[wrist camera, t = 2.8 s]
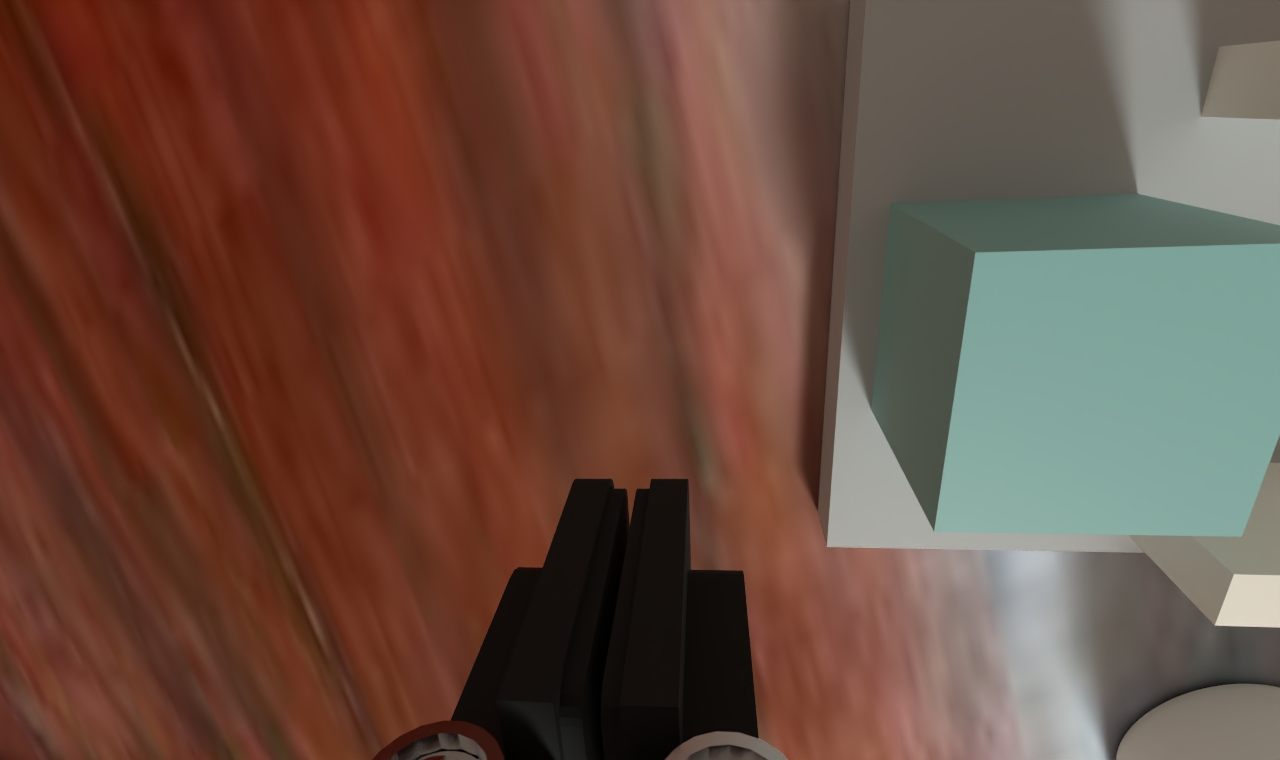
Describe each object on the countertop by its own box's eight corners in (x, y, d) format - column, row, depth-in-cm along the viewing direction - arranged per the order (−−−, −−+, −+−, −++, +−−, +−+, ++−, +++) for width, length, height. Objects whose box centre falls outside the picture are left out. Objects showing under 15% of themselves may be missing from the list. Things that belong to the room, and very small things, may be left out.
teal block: (890, 203, 17) (974, 252, 12) (1137, 194, 16) (1351, 241, 11) (871, 409, 19) (933, 532, 14) (1086, 408, 19) (1242, 536, 13)
